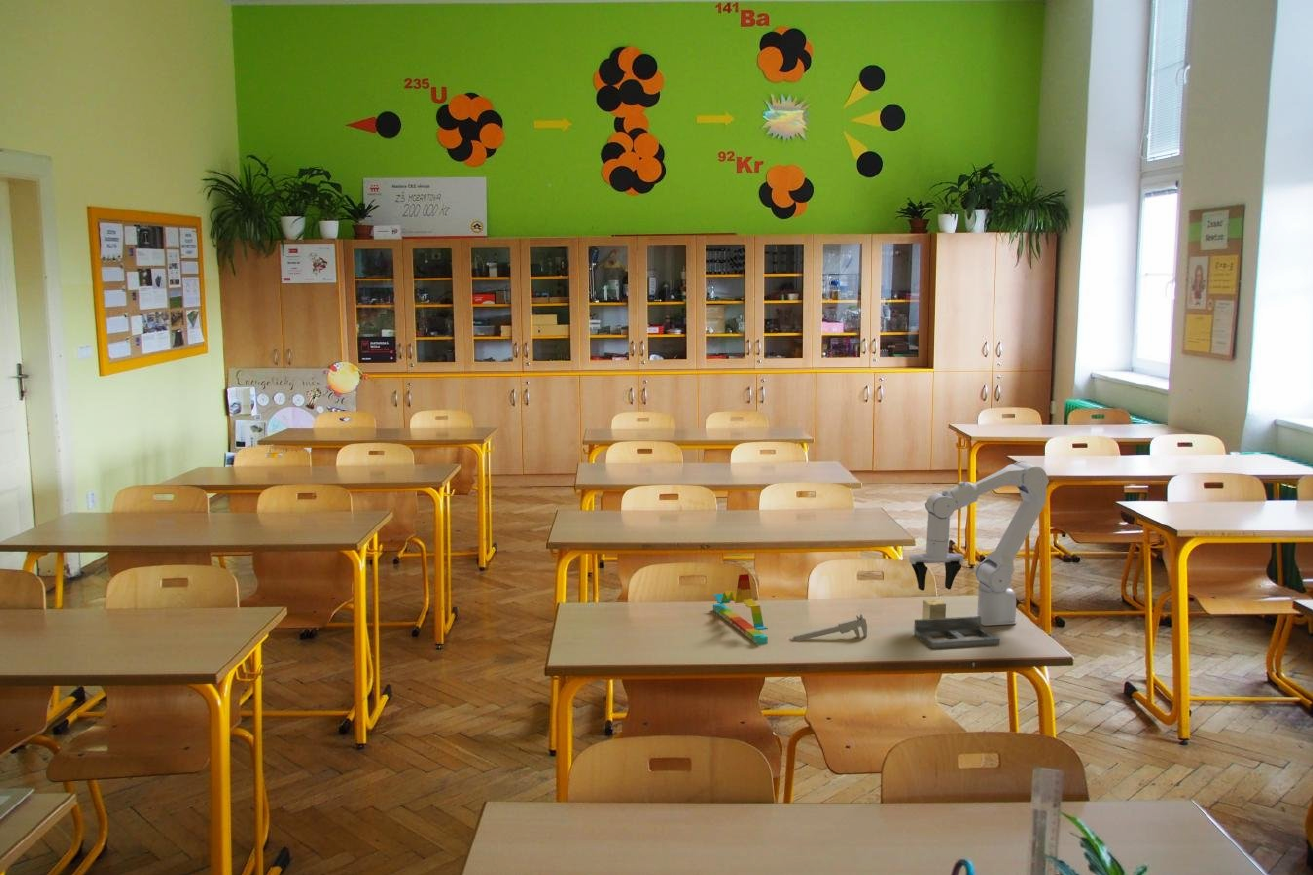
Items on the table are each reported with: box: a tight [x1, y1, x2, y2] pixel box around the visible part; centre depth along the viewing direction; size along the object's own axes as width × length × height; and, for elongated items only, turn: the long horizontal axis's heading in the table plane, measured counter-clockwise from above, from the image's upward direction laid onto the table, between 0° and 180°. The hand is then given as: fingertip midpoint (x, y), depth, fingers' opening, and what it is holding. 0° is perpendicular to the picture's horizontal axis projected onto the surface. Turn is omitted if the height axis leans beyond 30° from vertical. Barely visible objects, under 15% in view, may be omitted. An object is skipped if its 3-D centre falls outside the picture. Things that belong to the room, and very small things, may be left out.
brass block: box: [921, 598, 947, 619], centre depth 294 cm, size 4×4×6 cm
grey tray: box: [913, 616, 1000, 650], centre depth 281 cm, size 18×11×4 cm, turn 100°
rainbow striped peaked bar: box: [712, 573, 769, 645], centre depth 291 cm, size 30×3×15 cm, turn 19°
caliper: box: [788, 613, 868, 642], centre depth 281 cm, size 21×1×6 cm, turn 99°
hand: (934, 588), depth 293 cm, fingers open, 7 cm apart
